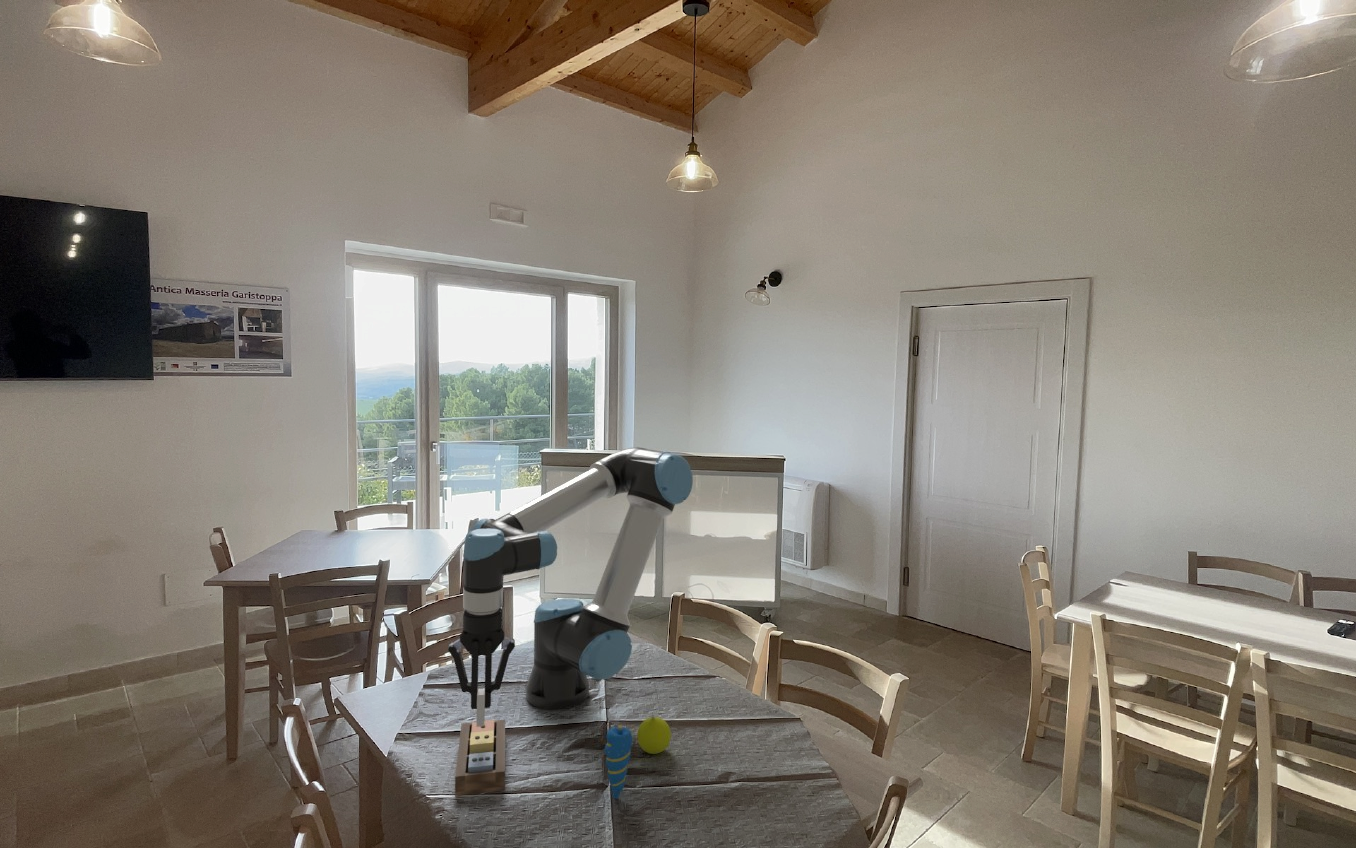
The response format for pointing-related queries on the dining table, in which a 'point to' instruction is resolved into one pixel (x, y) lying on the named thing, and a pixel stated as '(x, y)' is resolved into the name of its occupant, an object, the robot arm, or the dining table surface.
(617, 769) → the ornament
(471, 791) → the key strip
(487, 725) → the tile one
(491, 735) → the tile two
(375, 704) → the dining table surface
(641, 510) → the robot arm
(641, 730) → the yellow pointed oval
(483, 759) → the tile three
